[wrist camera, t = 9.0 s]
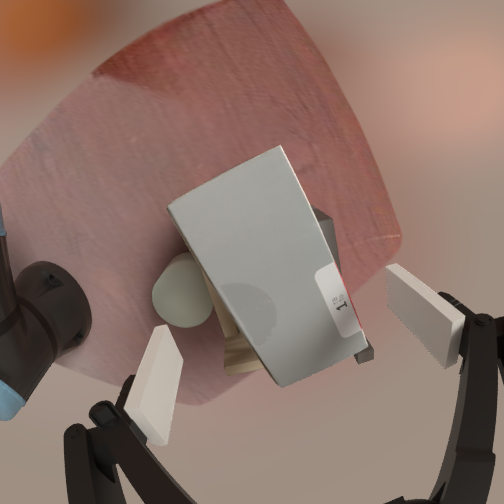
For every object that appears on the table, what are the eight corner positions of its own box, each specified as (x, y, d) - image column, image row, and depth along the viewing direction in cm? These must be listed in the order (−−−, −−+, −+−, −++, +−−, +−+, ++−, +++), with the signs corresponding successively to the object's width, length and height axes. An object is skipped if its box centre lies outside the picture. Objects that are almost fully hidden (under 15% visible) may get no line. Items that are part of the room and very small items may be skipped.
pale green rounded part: (171, 302, 39) (159, 328, 33) (161, 254, 37) (146, 273, 31) (221, 299, 39) (217, 325, 33) (214, 249, 37) (208, 268, 31)
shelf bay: (230, 308, 40) (226, 397, 24) (205, 231, 37) (181, 288, 20) (325, 283, 40) (373, 358, 23) (310, 204, 36) (365, 241, 20)
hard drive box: (311, 261, 39) (370, 350, 20) (259, 286, 39) (277, 394, 20) (257, 152, 34) (282, 143, 15) (201, 182, 35) (158, 209, 16)
